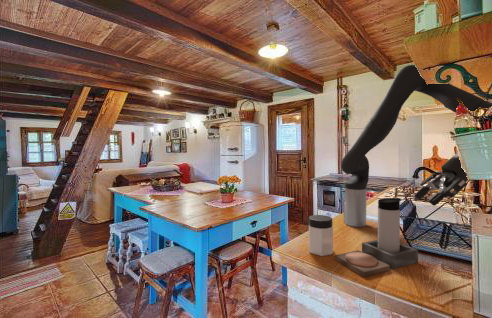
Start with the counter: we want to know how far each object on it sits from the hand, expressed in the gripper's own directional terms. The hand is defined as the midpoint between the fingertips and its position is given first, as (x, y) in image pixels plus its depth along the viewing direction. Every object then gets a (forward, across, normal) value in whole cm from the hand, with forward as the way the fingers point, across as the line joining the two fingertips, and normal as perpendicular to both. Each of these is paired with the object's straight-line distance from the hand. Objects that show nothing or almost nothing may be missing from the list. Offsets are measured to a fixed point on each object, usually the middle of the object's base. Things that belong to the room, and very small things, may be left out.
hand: (423, 200), depth 80 cm
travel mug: (+21, 0, +7) cm, 22 cm away
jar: (+36, -3, -8) cm, 37 cm away
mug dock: (+24, +3, +3) cm, 25 cm away
